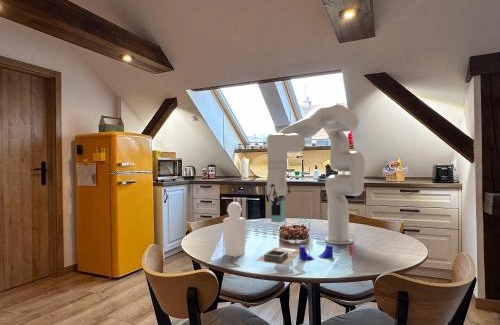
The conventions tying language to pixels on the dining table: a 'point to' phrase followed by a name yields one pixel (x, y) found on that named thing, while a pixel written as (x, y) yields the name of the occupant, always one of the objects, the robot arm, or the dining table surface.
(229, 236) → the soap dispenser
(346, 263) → the dining table surface
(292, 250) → the board
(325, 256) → the cable clip
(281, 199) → the plug
